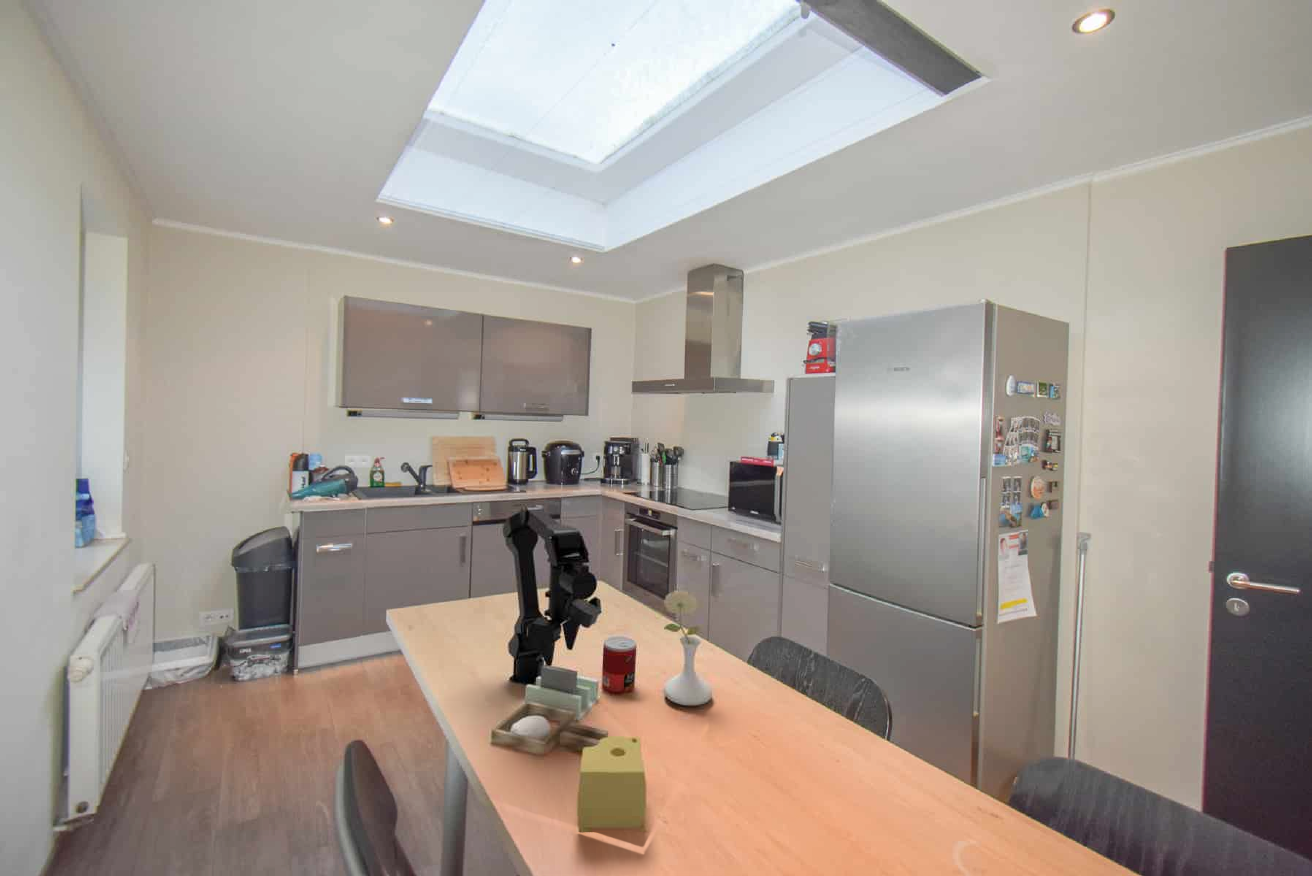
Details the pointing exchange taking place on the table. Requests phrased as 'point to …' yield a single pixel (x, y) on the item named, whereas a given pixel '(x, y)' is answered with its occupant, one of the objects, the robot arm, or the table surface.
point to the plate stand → (580, 738)
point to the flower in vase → (686, 656)
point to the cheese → (612, 785)
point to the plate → (559, 679)
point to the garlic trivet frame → (530, 744)
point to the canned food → (619, 665)
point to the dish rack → (566, 696)
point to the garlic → (532, 727)
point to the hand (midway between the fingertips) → (559, 657)
